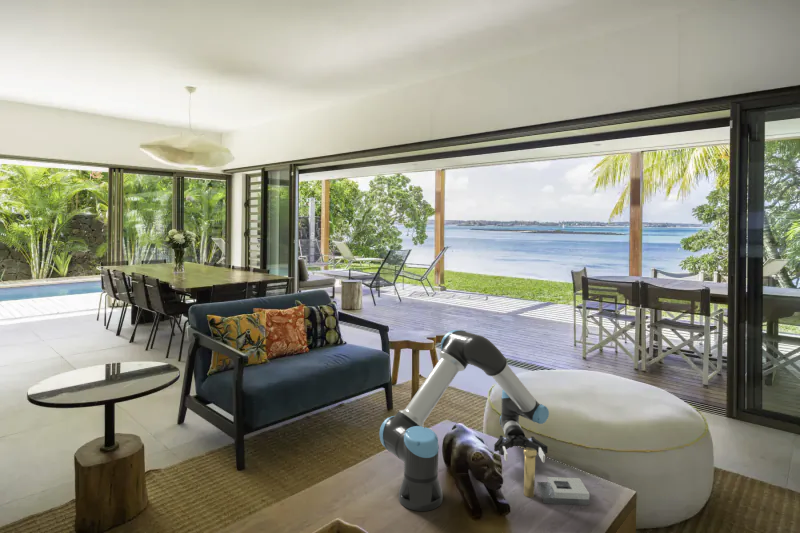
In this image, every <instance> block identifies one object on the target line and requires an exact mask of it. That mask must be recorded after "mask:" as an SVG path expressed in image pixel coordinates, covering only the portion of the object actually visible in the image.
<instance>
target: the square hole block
mask: <svg viewBox="0 0 800 533" xmlns="http://www.w3.org/2000/svg"><path fill="white" fill-rule="evenodd" d="M536 489H537V490H538V493H539V495H540V497H541V499H542V502H543V504H555V505H576V506H577V505H578V506H579V505H581V506H582V505H583V506H590V492H589V491H588V489H587V487H586V486H585V483H583V481H582V480H581V478H580V477H560V476H559V477H557V476H554V477H553V476H547V477H546V481H536Z"/></svg>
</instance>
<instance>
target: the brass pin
mask: <svg viewBox="0 0 800 533" xmlns="http://www.w3.org/2000/svg"><path fill="white" fill-rule="evenodd" d="M537 453H538V452H537V451H536V450H535V449H533V448H524V447H523V455H524V464H523V465H524V466H523V470H524V472H523V495H524V496H525V497H526V498H534V497H535V483H536V482H535V480H536V479H535V478H536V457H537V455H538V454H537Z"/></svg>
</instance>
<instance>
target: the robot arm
mask: <svg viewBox="0 0 800 533" xmlns="http://www.w3.org/2000/svg"><path fill="white" fill-rule="evenodd" d="M440 344H441V345H440V352H439V360H438V361H437V362H436V364H435V366H434V367H433V368H432V370H431V371H430V373H429V374H428V376H426V378H425V380H424V381H423V382H422V384H421V386H420V387H419V388H418V389H417V392H416V393H415V394H414V395H413V397H412V398H411V400H410V401H409V403H408V404H407V405H406V407H405V408H404V409H400V410H398V411H397V413H396V414H395V415H393V416H390V417H389V416H388V417H387V418H385V419H384V421H383V422H382V423H381V425H380V427H379V433H378V434H379V440H380V443H381V444H382V446H383V447H384V448H385V449H386V450H387V451H388V452H390V453H391V454H393V455H394V456H396V457H397V458H398V459H400V460H401V461H403V478H402V482H401V484H400V486H399V491H398V501H399V503H400V504H401V506H403V507H405V508H406V509H408V510H411V511H415V512H417V511H418V512H428V511H432V510H435V509H437V508H439V507H440V506H441V505H442V503H443V499H444V498H443V490H442V486H441V483H440V480H439V473H438V472H439V438H438V435H437V434H436V432H435V431H433V429H430V428H429V427H426V426H425V425H424V423H425V421H426V420H427V419H428V418H429V416H430V414H431V413H432V411H433V410H434V408H435V407H436V406H437V403H439V401H440V400H441V398H442V396H443V395H444V393H445V392H446V391H447V389H448V388H449V386H450V385H451V383H452V382H453V380H454V379H455V377H456V376H457V374H458V373H459V372H463V371H465V369H466V368H467V366H469V365H470V366H471V365H472V366H474V367H476V368H478V369H480V370H481V371H482V372H484V373H485V374H486V375H487V376H489V377H491V378H493V379H494V382H496V383H497V385H499V387H500V388H501V389H502V391H501V413H500V414H501V415H500V417H499V425H500V428H502V431H503V435H504V436H503V435H501V434H500V435H499V438H498V439H497V440H496V441H495V443H494V444H493V447H494V448H493V450H494V452H498V454H499V455H500V456H503V459H504V461H505V462H509V461H508V460H509V459H508V458H509V457H508V456H509V454H508V452H507V450H508V449H510V448H513V447H523V449H524V448H533V449H535V450H536V451H537V453H538V454H537V455H538V456H539V458H540V460H541V462H542V463H546V454H548V446H547V445H546V444H545V443H543V442H541V441H539V440H538V439H536V438H535V437H534V436H530V438H528V437H527V436H526V435H525V432H524V430H523V428H522V426H521V424H520V417H522V418H525V419H527V420H528V421H531V422H533V423H536V424H538V425H539V424H540V425H543V424H545V423H546V422H547V420H548V419H549V415H550V412H549V408H548V407H547V406H546V405H544V404H543V403H539V402H538V401H537V400H536V398H535V397H534V396H533V394H532V393H531V392H530V391H529V390H528V388H527V387H526V386H525V385H524V383H523V382H522V381H521V380H520V378H519V377H518V376H517V375H516V373H515V372H514V371H513V370H512V369H511V367H510V366H509V365H508V359H507V358H506V357H505V355H504V354H503V353H502V352H501V350H500V349H499V348H497V346H496V345H495V344H494V343H493V342H492V341H491V340H489V339H488V338H486V337H484V336H483V335H481V334H475V333H471V332H467V331H466V330H463V329H462V330H461V329H452V330H450V331H448V332H446V333H445V335H444V336H443V337H442V339H441V342H440ZM424 426H425V427H424Z"/></svg>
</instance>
